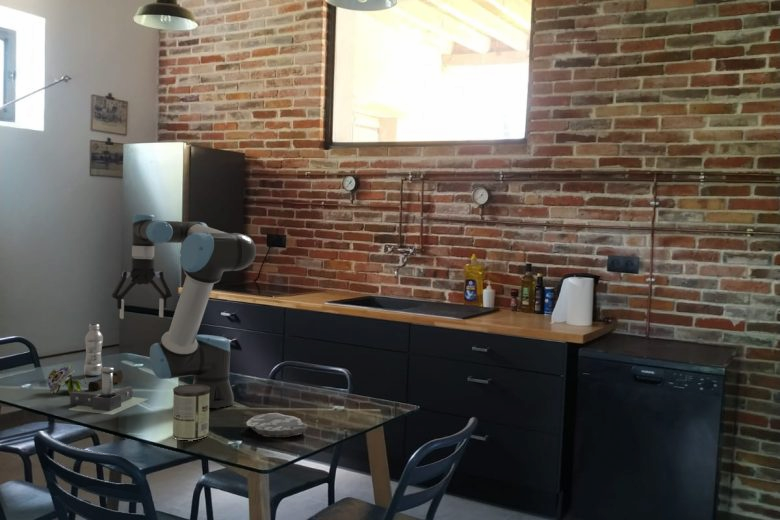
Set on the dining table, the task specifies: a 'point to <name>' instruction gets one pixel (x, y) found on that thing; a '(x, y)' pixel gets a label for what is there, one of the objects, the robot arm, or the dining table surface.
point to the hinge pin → (107, 381)
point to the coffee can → (191, 412)
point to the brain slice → (276, 424)
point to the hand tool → (98, 384)
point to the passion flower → (63, 380)
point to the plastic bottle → (93, 351)
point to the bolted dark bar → (124, 393)
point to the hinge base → (95, 401)
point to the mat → (124, 406)
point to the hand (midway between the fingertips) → (141, 317)
